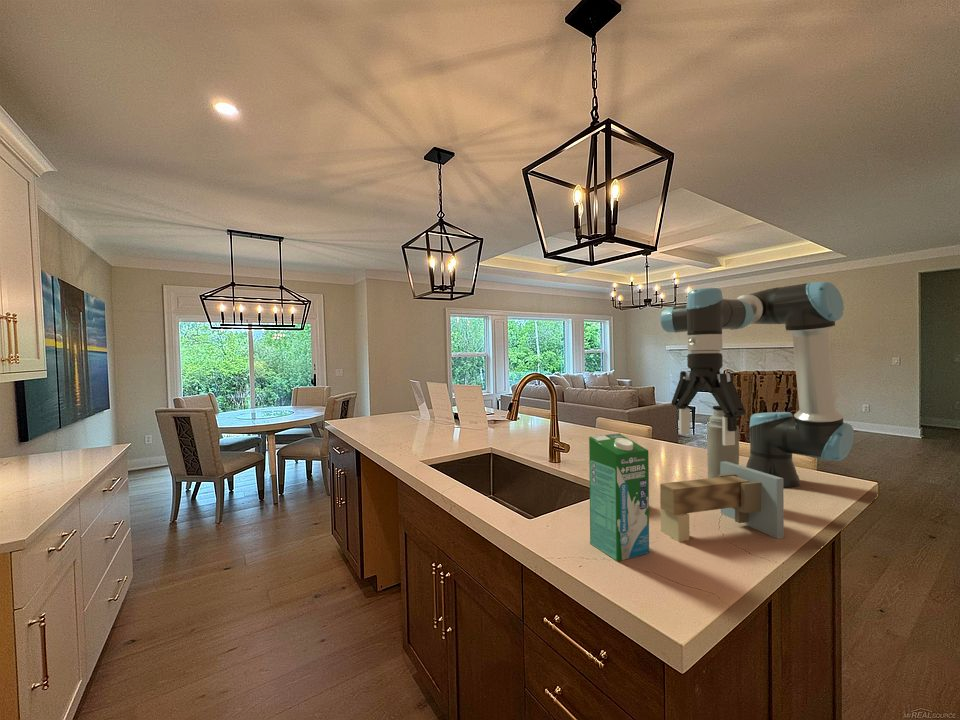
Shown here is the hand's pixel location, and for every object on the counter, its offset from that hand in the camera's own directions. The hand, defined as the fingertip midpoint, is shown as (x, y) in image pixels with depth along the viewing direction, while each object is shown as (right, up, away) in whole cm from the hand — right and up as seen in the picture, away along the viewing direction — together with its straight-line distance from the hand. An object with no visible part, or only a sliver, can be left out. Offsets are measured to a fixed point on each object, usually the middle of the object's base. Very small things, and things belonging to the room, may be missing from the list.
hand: (705, 439), depth 99 cm
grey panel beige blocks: (+2, -23, +1) cm, 23 cm away
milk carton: (-24, -23, -8) cm, 34 cm away
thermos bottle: (+16, -22, +20) cm, 34 cm away
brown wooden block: (0, -17, 0) cm, 17 cm away
